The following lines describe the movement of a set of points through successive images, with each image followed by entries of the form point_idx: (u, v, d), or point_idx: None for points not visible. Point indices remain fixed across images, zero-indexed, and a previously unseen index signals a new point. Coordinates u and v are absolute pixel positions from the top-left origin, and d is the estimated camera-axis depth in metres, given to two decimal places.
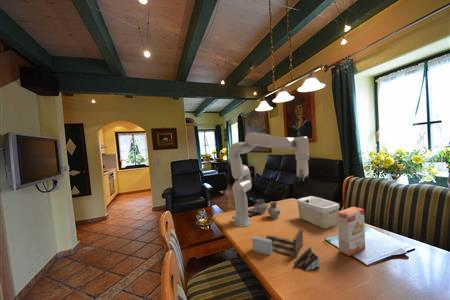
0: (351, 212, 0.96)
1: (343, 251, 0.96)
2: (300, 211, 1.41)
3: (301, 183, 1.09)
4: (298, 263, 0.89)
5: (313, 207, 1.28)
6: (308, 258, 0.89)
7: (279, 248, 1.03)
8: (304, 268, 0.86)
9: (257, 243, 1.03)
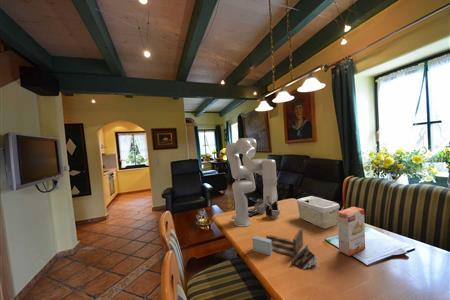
0: (351, 212, 0.96)
1: (343, 251, 0.96)
2: (300, 211, 1.41)
3: (268, 211, 1.00)
4: (295, 262, 0.90)
5: (313, 207, 1.28)
6: (305, 256, 0.90)
7: (279, 248, 1.03)
8: (301, 266, 0.87)
9: (257, 243, 1.03)
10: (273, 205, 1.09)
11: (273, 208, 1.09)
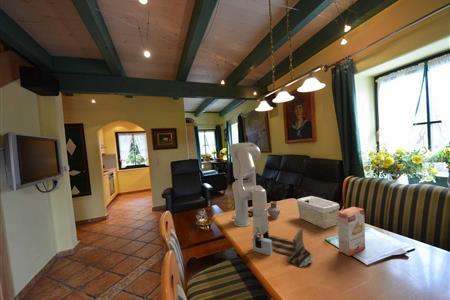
0: (351, 212, 0.96)
1: (343, 251, 0.96)
2: (300, 211, 1.41)
3: (257, 243, 0.97)
4: (292, 260, 0.92)
5: (313, 207, 1.28)
6: (301, 254, 0.92)
7: (279, 248, 1.03)
8: (297, 264, 0.89)
9: None
10: (264, 234, 1.06)
11: (264, 237, 1.06)
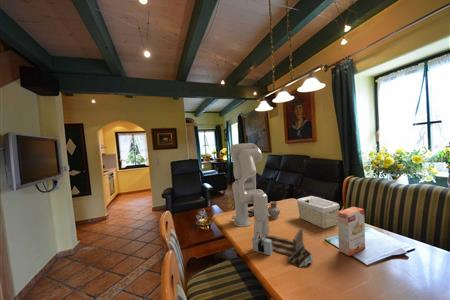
0: (351, 212, 0.96)
1: (343, 251, 0.96)
2: (300, 211, 1.41)
3: (260, 247, 1.00)
4: (291, 260, 0.92)
5: (313, 207, 1.28)
6: (301, 254, 0.92)
7: (279, 248, 1.03)
8: (297, 264, 0.89)
9: None
10: None
11: None
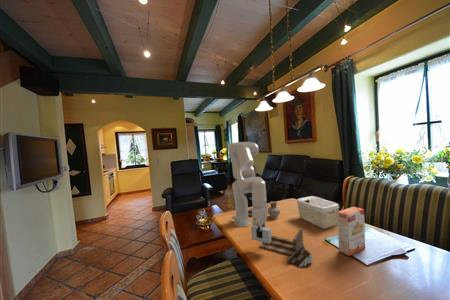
0: (351, 212, 0.96)
1: (343, 251, 0.96)
2: (300, 211, 1.41)
3: (258, 233, 1.01)
4: (291, 260, 0.92)
5: (312, 207, 1.29)
6: (301, 254, 0.92)
7: (279, 248, 1.03)
8: (297, 264, 0.89)
9: None
10: None
11: None
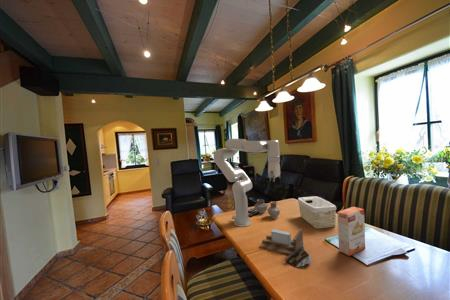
0: (351, 212, 0.96)
1: (343, 251, 0.96)
2: (300, 209, 1.44)
3: (272, 183, 1.18)
4: (289, 260, 0.92)
5: (307, 206, 1.30)
6: (299, 255, 0.91)
7: (279, 248, 1.03)
8: (294, 265, 0.89)
9: (276, 236, 1.07)
10: (276, 180, 1.26)
11: (276, 182, 1.26)
